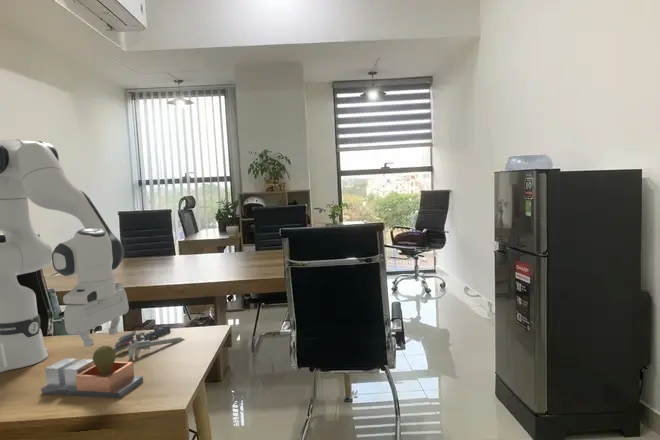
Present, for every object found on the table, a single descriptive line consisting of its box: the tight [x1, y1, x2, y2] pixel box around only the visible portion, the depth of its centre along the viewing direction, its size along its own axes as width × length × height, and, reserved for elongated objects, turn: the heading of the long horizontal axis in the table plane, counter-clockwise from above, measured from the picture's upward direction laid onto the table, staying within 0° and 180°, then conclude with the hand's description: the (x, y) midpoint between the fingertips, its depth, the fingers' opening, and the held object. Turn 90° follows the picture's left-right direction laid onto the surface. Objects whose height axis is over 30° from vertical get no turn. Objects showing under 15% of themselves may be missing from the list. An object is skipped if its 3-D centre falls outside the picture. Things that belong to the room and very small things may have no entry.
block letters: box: [113, 324, 172, 354], centre depth 162 cm, size 25×2×6 cm, turn 157°
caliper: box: [128, 336, 185, 360], centre depth 155 cm, size 20×1×6 cm, turn 145°
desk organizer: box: [40, 357, 144, 399], centre depth 127 cm, size 24×10×6 cm, turn 77°
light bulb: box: [92, 345, 117, 376], centre depth 126 cm, size 6×6×10 cm
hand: (101, 339), depth 125 cm, fingers open, 8 cm apart
